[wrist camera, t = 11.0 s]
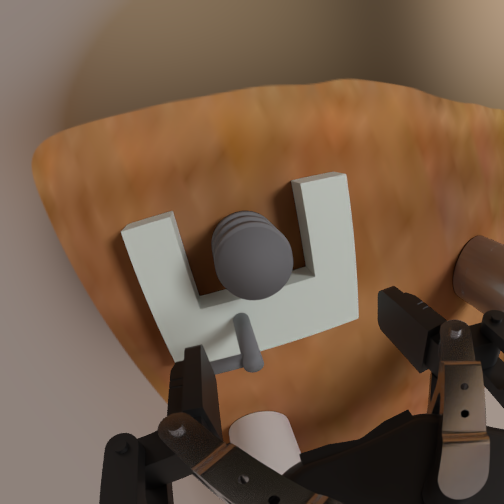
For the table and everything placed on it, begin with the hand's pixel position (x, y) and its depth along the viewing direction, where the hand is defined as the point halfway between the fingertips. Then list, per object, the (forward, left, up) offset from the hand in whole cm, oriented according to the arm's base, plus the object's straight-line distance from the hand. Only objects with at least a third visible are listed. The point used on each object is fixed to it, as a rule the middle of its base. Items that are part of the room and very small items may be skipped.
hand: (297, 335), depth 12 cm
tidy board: (0, +3, -14) cm, 14 cm away
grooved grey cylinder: (0, 0, -14) cm, 14 cm away
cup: (+4, +26, -14) cm, 30 cm away
